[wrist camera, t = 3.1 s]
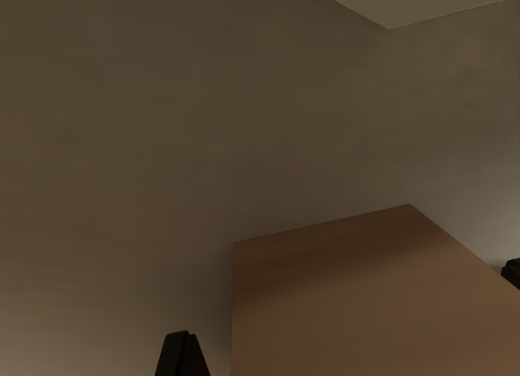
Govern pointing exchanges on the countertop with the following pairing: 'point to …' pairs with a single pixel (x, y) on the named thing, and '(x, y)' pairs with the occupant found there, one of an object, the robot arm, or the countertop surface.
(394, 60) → the countertop surface
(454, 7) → the sage cube
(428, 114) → the countertop surface
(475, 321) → the walnut cube
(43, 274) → the countertop surface
